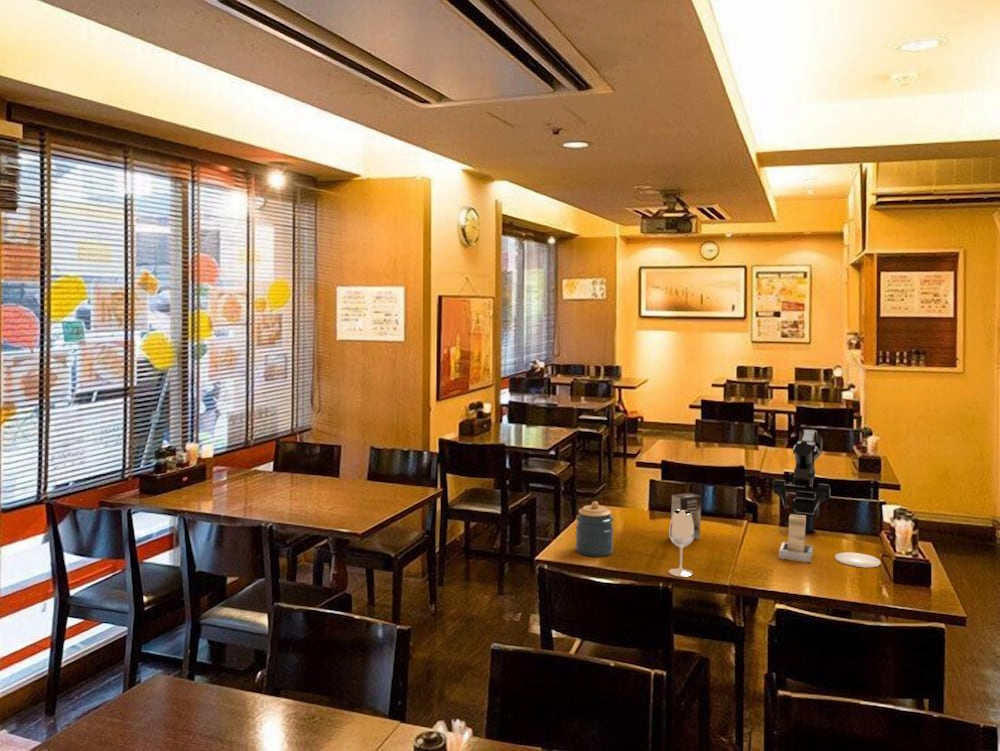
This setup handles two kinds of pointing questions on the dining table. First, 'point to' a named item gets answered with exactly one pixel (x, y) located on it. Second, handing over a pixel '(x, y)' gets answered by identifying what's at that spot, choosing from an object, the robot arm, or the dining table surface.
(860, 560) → the plate
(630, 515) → the dining table surface
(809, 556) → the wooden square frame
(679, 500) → the coffee box
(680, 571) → the wineglass
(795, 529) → the maple block
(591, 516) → the canister
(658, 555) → the dining table surface
